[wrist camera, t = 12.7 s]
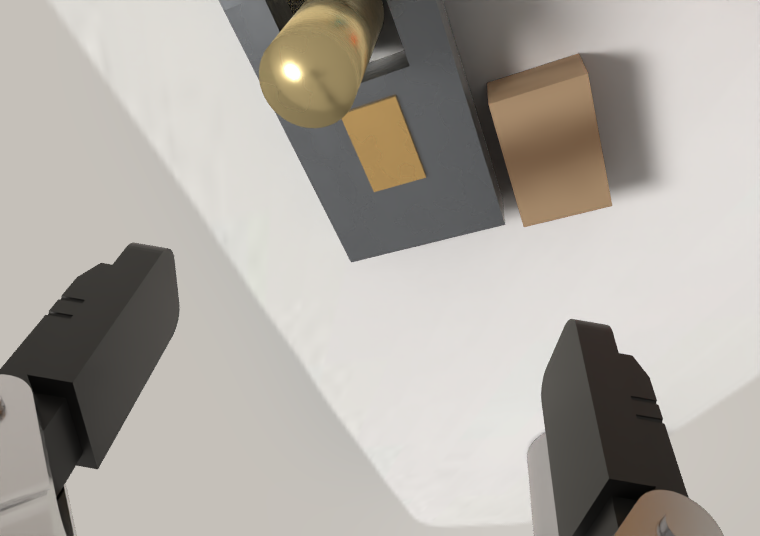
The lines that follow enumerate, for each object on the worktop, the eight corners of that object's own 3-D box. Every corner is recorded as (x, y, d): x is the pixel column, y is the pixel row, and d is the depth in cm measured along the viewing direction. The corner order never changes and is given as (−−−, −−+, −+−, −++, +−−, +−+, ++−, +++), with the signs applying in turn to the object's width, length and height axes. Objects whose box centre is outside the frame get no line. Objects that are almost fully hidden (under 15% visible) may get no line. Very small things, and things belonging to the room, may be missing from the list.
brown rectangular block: (602, 179, 36) (612, 205, 34) (520, 200, 38) (523, 227, 35) (578, 53, 32) (587, 73, 29) (486, 83, 33) (488, 104, 31)
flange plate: (502, 198, 38) (505, 226, 35) (357, 235, 41) (350, 264, 38) (399, -143, 27) (392, -138, 25) (215, -59, 30) (193, -46, 28)
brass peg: (394, 36, 32) (371, 111, 24) (328, 60, 34) (286, 139, 26) (367, -40, 30) (332, 15, 22) (297, -12, 31) (241, 50, 24)
